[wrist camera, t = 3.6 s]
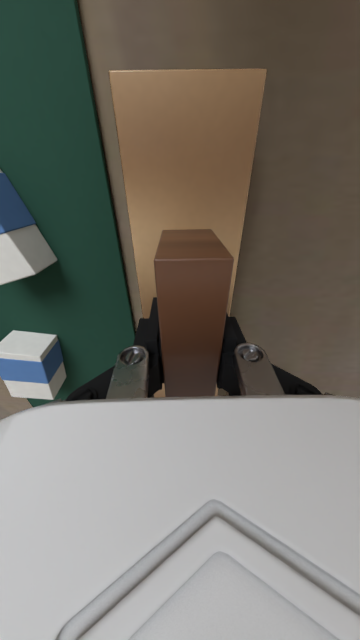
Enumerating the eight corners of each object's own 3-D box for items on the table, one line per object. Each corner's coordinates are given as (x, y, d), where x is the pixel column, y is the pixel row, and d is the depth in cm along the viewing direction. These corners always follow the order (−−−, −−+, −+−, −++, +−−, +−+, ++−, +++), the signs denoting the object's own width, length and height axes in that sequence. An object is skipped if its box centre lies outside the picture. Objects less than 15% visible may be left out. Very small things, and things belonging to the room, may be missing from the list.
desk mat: (-273, -25, 7) (-295, -36, 7) (72, -28, 7) (67, -38, 7) (37, 406, 22) (35, 410, 21) (147, 404, 22) (147, 407, 21)
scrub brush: (123, 96, 9) (23, -72, 3) (246, 94, 9) (380, -74, 3) (157, 386, 20) (150, 468, 14) (211, 385, 20) (225, 466, 14)
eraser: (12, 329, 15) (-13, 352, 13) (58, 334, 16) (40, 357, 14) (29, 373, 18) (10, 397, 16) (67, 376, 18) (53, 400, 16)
